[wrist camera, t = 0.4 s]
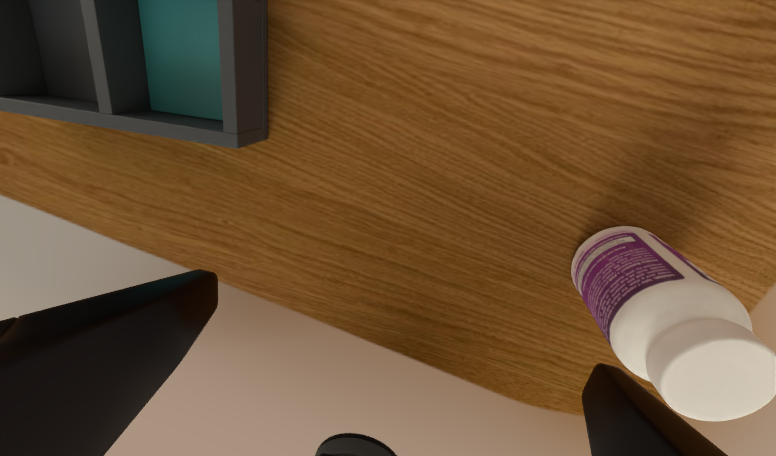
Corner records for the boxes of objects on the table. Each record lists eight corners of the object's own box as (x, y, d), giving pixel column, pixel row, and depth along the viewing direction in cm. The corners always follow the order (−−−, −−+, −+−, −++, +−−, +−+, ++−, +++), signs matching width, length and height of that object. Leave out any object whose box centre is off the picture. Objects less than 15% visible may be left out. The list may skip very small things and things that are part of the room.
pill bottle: (563, 299, 24) (626, 428, 15) (575, 222, 22) (655, 318, 13) (655, 304, 23) (778, 444, 14) (676, 225, 21) (835, 329, 12)
